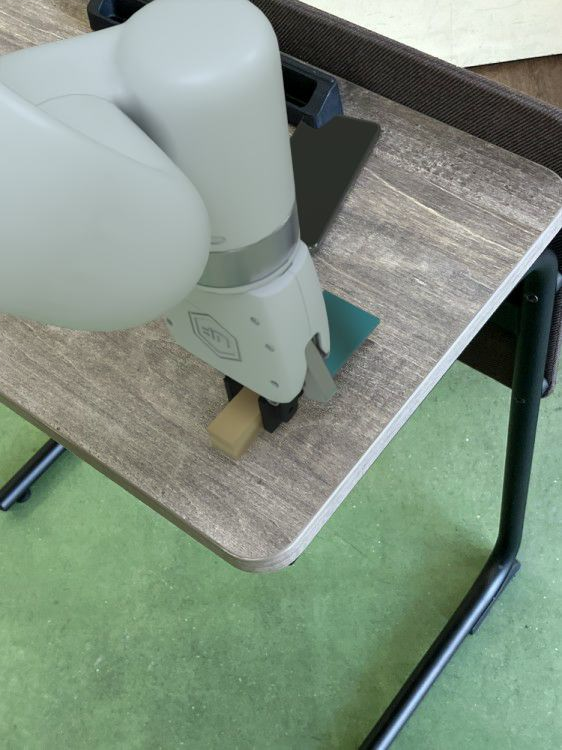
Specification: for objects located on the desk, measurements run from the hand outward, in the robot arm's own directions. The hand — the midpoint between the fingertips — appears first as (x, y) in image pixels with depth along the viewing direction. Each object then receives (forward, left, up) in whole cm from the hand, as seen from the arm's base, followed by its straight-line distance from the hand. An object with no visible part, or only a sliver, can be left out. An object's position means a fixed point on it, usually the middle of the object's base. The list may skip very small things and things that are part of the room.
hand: (264, 405), depth 66 cm
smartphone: (+12, +21, -3) cm, 25 cm away
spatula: (+3, +1, 0) cm, 3 cm away
